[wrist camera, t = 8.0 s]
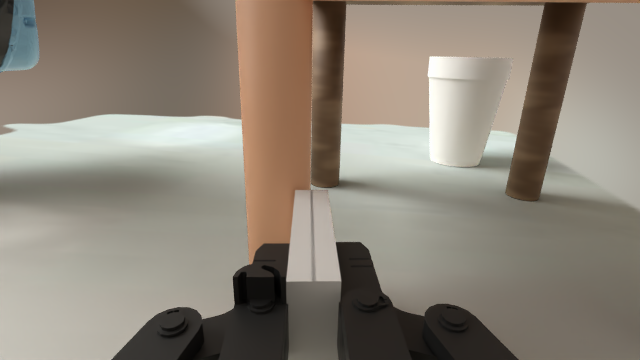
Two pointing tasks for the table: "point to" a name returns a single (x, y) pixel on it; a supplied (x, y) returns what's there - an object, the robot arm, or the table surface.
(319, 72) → the stool
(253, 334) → the robot arm
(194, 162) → the table surface
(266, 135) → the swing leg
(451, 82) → the foam cup
